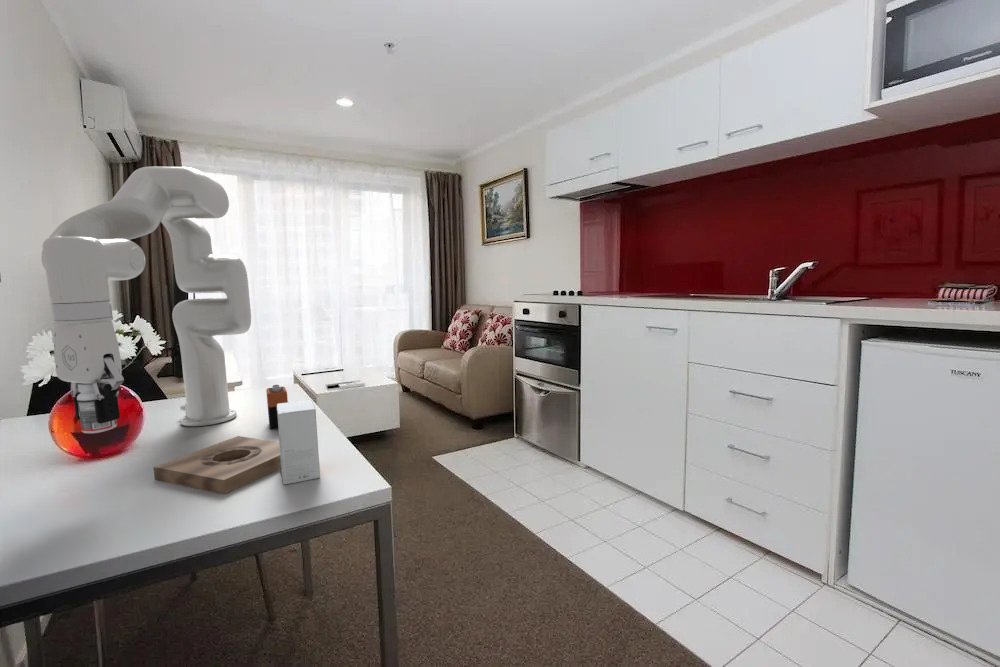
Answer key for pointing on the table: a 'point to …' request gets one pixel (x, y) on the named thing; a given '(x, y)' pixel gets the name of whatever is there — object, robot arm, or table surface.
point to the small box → (298, 441)
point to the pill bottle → (90, 410)
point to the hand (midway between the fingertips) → (98, 418)
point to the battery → (275, 403)
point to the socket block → (222, 465)
